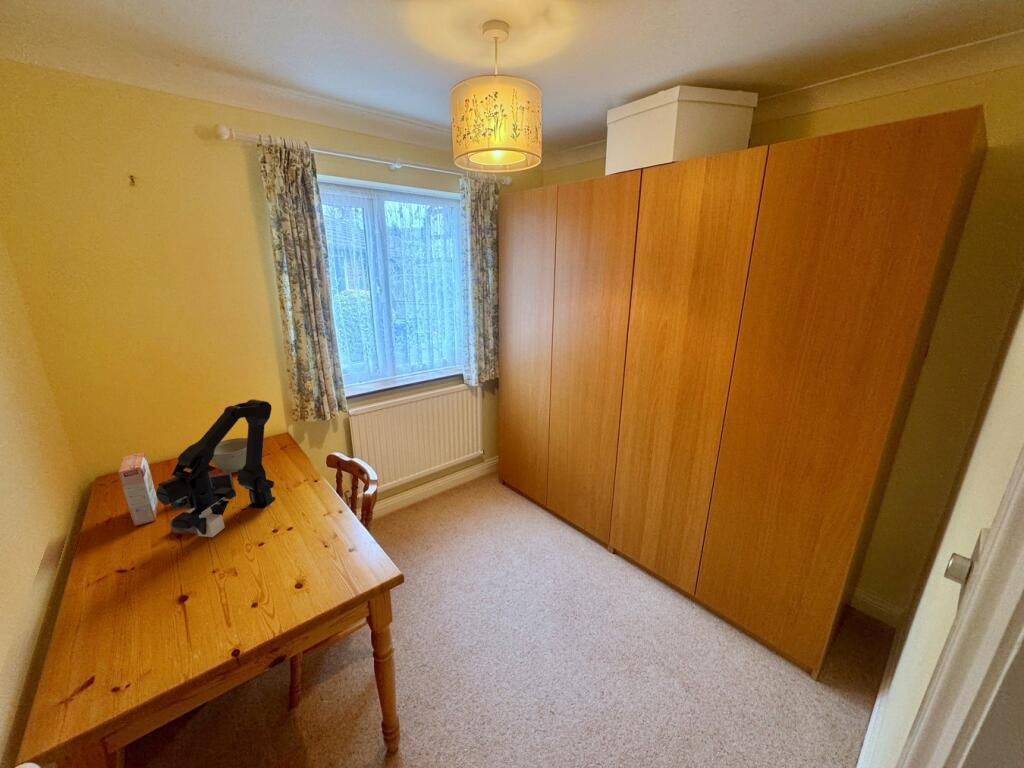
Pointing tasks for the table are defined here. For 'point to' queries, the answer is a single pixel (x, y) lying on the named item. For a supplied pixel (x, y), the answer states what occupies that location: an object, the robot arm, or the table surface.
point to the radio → (222, 480)
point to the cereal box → (138, 488)
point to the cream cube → (213, 525)
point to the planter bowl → (230, 454)
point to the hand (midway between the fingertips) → (211, 528)
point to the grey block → (193, 529)
